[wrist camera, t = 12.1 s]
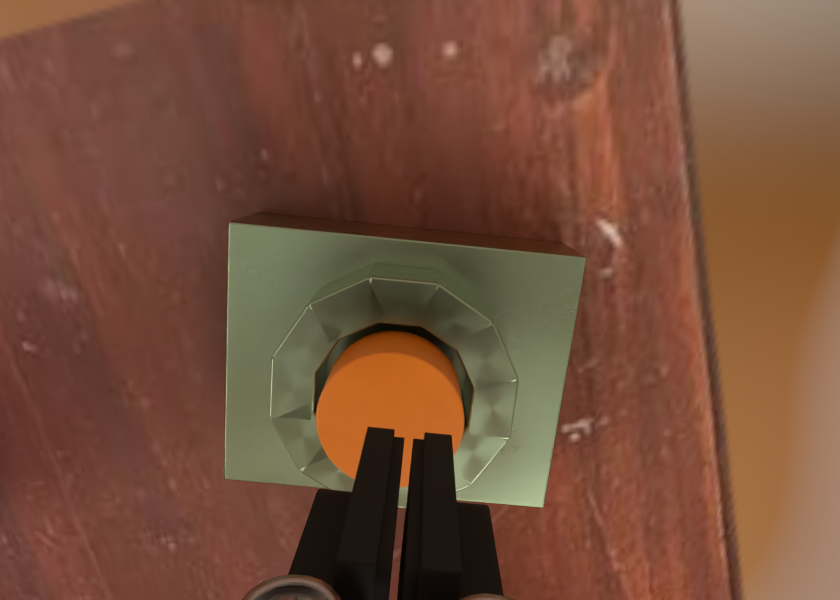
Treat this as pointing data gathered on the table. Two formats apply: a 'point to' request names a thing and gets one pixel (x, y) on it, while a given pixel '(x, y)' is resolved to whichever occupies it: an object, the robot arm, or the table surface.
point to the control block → (396, 311)
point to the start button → (388, 397)
